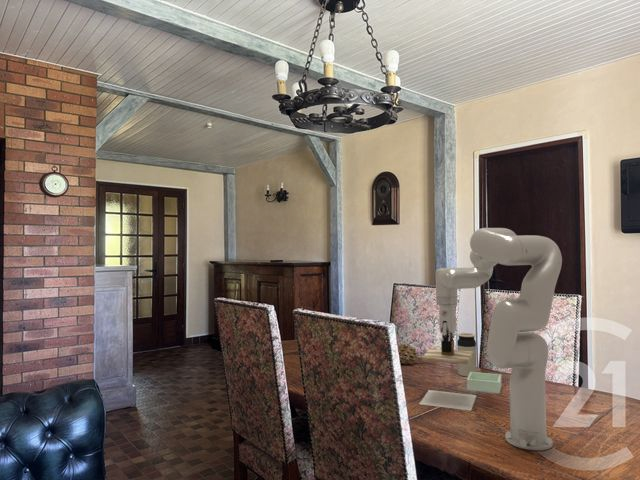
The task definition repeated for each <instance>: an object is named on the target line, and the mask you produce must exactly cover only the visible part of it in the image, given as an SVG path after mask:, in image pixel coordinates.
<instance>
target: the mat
mask: <svg viewBox="0 0 640 480" xmlns="http://www.w3.org/2000/svg"><path fill="white" fill-rule="evenodd" d="M476 398H477V395H475V394H470V393H469V394H468V393H459V392H458V393H457V392H451V391H450V392H449V391H442V390H441V391H440V390H439V391H438V390H433V389H432V390H431V389H428V391H427V392H426V393H425V395H424V396H423V397H422V399H421V401H420V402H419V403H418V404H419V405H423V406H429V407H430V406H431V407H439V408H447V409H455V410H463V411H470V412H471V411H472V409H473V407H474V404H475V401H476Z"/></svg>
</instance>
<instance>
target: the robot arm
mask: <svg viewBox="0 0 640 480" xmlns="http://www.w3.org/2000/svg"><path fill="white" fill-rule="evenodd" d="M469 246H470V249H471V251H470V254H469V260H470V262H471V264H472V265H473V266H472V267H441V268H440V267H439V268H437V269H436V270H435V299H436V300H435V302H436V306H438V308H439V309H438V310H439V311H438V317H439V318H438V322H439V324H438V325H439V332H440V333H441V334H442V336H441V341H442V351H443V352H451V341H450V340H454V335H453V334H454V333H455V332H456V331H457V313H456V307H457V306H458V290H464V289H465V290H466V289H476V288H479V287H481V286H482V285H484V284H485V283H487V282H488V281H489V280H490V279H491V277H492V275H493V271H494V267H495V266H496V265H497V264H500V265H503V266H528V265H529V266H531V268H530V269H529V270H528V272H527V273H526V275H525V276H524V277H523V280H522V283H521V288H520V293H519V295H518V297H516V298H506V299H502V300H501V301H499V302H498V303H497V304H496V305H495V307H494V308H493V311H492V314H491V320H490V325H489V331H488V338H487V342H486V353H487V358H488V360H489V362H490V363H491V364H492V366H494V367H495V368H498V369H511V371H510V376H509V415H510V416H509V417H510V422H509V423H510V424H509V425H510V430H508V431H506V432H505V435H504V436H505V437H504V438H505V440H506V442H507V443H508V444H510V445H512V446H514V447H516V448H519V449H523V450H528V451H546V450H547V451H548V450H549V449H551V448H552V447H553V445H554V443H553V442H554V441H553V439H552V438H551V437H550V436H549V435H547V406H546V403H547V402H546V399H547V398H546V371H547V363H548V359H549V346H548V343H547V341H546V339H545V338H544V337H543V336H541V335H540V334H539V333H535V332H536V331H541V330H544V329H545V328H547V326H548V324H549V321H550V316H551V311H552V305H553V300H554V296H555V289H556V286H557V282H558V278H559V275H560V273H561V269H562V264H563V257H562V253H561V250H560V248H559V246H558V244H557V243H556V242H555V241H554V240H552V239H551V238H549V237H548V236H547V237H546V236H541V235H531V234H530V235H528V234H527V235H526V234H525V235H517V234H516V233H515V231H514V230H512V229H509V228H505V227H482V228H478V229H476V230H475V231H474V232H473V234H472V235H471V237H470V240H469ZM534 331H535V332H534Z"/></svg>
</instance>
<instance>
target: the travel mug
mask: <svg viewBox="0 0 640 480" xmlns="http://www.w3.org/2000/svg"><path fill="white" fill-rule="evenodd" d="M457 336H458V338H457V341H456V343H457V344H456V346H457V348H456V350H457V351H472V352H473V356H472V357H471V359H470V361H469V363H468V364H459V363H457V374H458V375H459V376H462V377H466V378H468V376H469V374H470V372H478V371H477V342H476V340H475V336H476V334H474V333H471V332H460V333H458V334H457Z"/></svg>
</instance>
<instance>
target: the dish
mask: <svg viewBox="0 0 640 480" xmlns="http://www.w3.org/2000/svg"><path fill="white" fill-rule="evenodd" d="M466 390H467V391H468V392H479V393H485V394H486V393H487V394H495V395H500V394H501V391H502V374H499V373H488V372H487V373H486V372H480V371H479V372H478V371H477V372H470V374H469V376H468V377H466Z"/></svg>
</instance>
